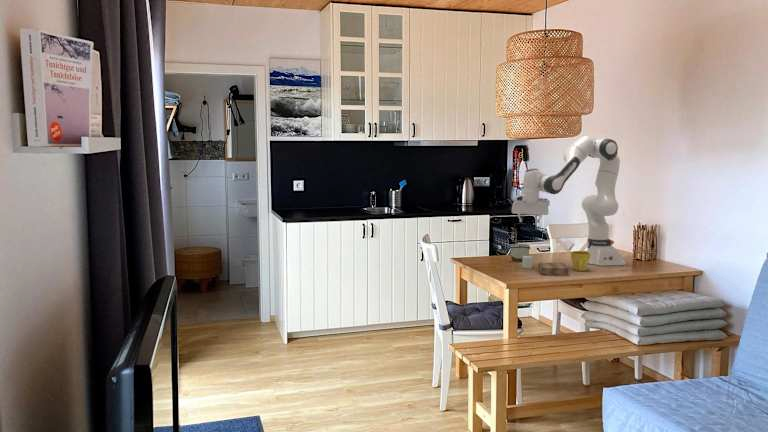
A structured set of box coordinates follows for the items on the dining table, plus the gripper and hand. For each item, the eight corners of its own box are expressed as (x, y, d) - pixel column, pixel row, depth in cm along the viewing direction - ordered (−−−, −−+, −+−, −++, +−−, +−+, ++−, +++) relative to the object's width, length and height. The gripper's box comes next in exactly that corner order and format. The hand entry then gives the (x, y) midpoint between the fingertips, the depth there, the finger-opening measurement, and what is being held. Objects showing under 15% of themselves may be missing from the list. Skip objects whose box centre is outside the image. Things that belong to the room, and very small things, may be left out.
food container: (529, 260, 385) (529, 243, 384) (530, 262, 379) (530, 245, 378) (507, 260, 386) (508, 243, 385) (508, 262, 380) (509, 245, 379)
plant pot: (566, 269, 358) (566, 252, 357) (577, 267, 365) (578, 250, 363) (582, 272, 350) (582, 254, 349) (593, 270, 356) (594, 252, 355)
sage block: (531, 266, 367) (531, 256, 367) (532, 268, 363) (532, 257, 362) (522, 266, 368) (522, 255, 367) (523, 268, 363) (523, 257, 362)
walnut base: (563, 270, 356) (564, 263, 356) (568, 275, 342) (568, 268, 342) (537, 269, 358) (538, 262, 357) (541, 275, 344) (541, 267, 344)
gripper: (549, 198, 363) (548, 222, 365) (512, 196, 368) (511, 220, 369) (549, 199, 357) (548, 223, 359) (512, 197, 362) (510, 221, 363)
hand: (529, 222), depth 364 cm, fingers open, 8 cm apart
